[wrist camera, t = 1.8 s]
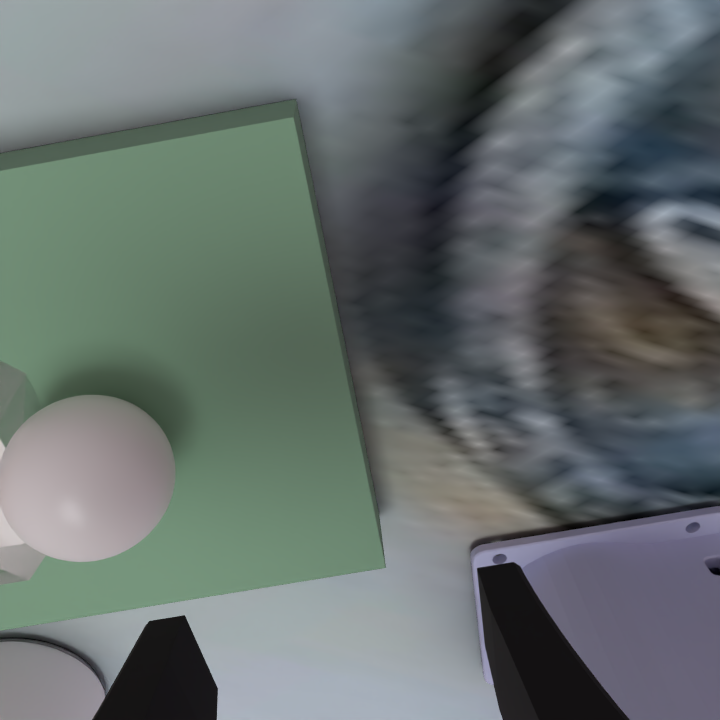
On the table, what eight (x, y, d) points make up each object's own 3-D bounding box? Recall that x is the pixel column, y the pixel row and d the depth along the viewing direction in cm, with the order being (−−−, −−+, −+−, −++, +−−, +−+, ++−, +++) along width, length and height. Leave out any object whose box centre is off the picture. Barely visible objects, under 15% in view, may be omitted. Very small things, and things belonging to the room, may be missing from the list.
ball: (161, 352, 17) (121, 450, 13) (204, 472, 19) (181, 583, 15) (8, 379, 17) (-70, 482, 13) (68, 495, 19) (14, 611, 15)
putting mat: (296, 98, 16) (293, 117, 14) (379, 515, 23) (385, 567, 21) (-403, 227, 17) (-505, 263, 15) (-114, 596, 24) (-155, 656, 22)
